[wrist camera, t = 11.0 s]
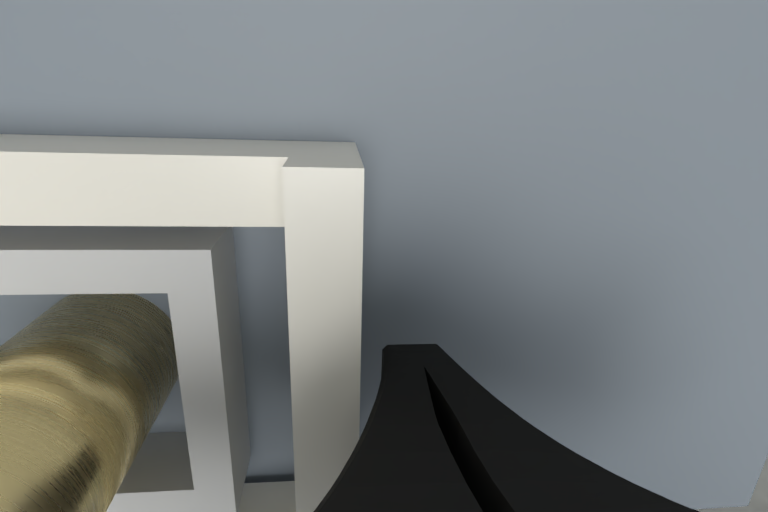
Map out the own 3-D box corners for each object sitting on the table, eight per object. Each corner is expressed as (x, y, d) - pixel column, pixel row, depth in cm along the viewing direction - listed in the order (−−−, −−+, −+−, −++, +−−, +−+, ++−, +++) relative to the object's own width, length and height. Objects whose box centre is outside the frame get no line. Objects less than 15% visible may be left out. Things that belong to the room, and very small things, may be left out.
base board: (712, 469, 17) (802, 561, 14) (17, 506, 15) (-76, 629, 12) (881, -22, 12) (1095, -65, 9) (-165, -93, 9) (-441, -191, 6)
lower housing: (350, 509, 14) (355, 641, 10) (-9, 530, 13) (-128, 683, 9) (355, 142, 10) (364, 168, 7) (-144, 130, 9) (-410, 154, 6)
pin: (208, 379, 12) (100, 628, 7) (89, 425, 12) (-117, 709, 7) (138, 267, 11) (-67, 454, 5) (7, 319, 11) (-327, 556, 5)
